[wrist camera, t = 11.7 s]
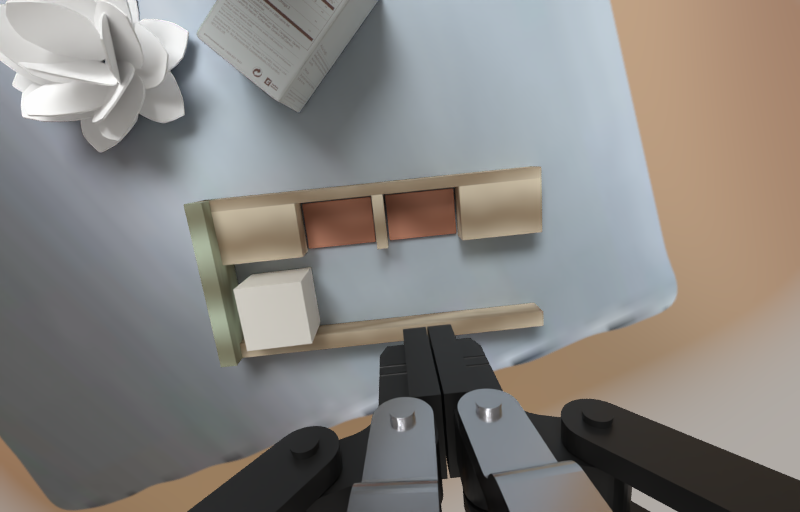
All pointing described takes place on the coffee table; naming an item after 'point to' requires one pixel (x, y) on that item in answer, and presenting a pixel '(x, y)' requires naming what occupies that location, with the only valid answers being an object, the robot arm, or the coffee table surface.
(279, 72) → the supplement box
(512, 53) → the coffee table surface
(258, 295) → the cream block
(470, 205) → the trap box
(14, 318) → the coffee table surface
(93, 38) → the lotus flower
